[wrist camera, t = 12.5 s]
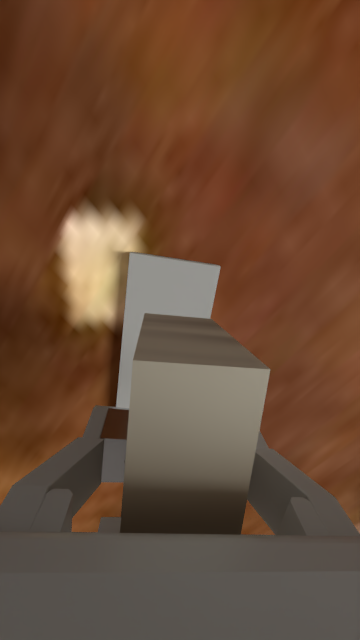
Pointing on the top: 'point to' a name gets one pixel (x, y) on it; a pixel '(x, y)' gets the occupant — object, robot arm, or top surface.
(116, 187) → the top surface
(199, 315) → the rest mat
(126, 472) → the grey elongated block
